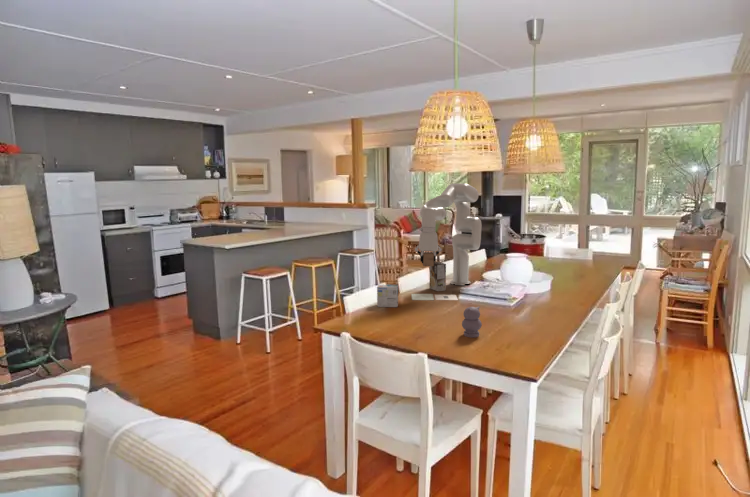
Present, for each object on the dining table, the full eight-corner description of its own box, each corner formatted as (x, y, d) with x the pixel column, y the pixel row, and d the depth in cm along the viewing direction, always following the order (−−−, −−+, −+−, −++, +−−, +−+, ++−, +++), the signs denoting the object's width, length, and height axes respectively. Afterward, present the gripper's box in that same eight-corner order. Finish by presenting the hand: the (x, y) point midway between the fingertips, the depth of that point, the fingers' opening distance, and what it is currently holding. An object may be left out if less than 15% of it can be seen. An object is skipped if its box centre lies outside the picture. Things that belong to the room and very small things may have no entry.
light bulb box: (398, 304, 243) (398, 284, 241) (397, 307, 236) (397, 287, 235) (378, 303, 244) (378, 283, 242) (376, 307, 237) (376, 286, 236)
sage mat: (411, 294, 264) (411, 293, 264) (432, 294, 263) (432, 293, 263) (412, 300, 250) (412, 299, 250) (434, 300, 250) (434, 299, 250)
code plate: (434, 294, 262) (434, 294, 262) (455, 295, 262) (455, 294, 262) (436, 300, 250) (436, 299, 250) (458, 300, 250) (458, 299, 250)
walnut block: (422, 264, 257) (422, 252, 256) (432, 264, 257) (432, 252, 256) (423, 266, 251) (423, 253, 250) (433, 266, 251) (433, 253, 250)
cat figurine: (470, 330, 198) (470, 303, 197) (485, 334, 193) (486, 307, 191) (457, 334, 193) (458, 307, 191) (472, 339, 187) (473, 310, 185)
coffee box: (446, 290, 273) (446, 263, 271) (437, 291, 271) (437, 264, 268) (437, 287, 282) (438, 261, 279) (428, 288, 279) (429, 262, 277)
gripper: (413, 230, 248) (412, 264, 250) (445, 230, 247) (444, 264, 250) (412, 229, 255) (412, 261, 258) (443, 229, 255) (442, 261, 257)
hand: (428, 262), depth 254 cm, fingers closed on walnut block, 5 cm apart
